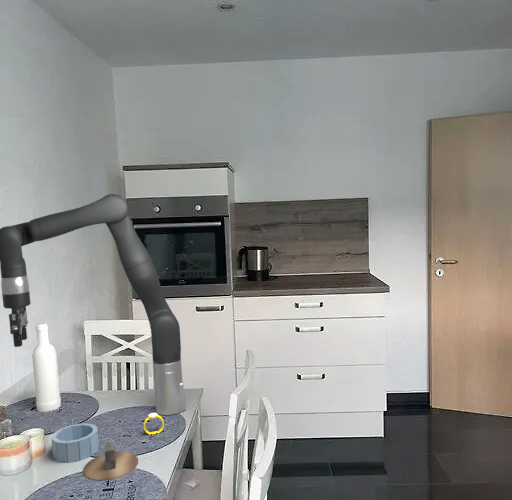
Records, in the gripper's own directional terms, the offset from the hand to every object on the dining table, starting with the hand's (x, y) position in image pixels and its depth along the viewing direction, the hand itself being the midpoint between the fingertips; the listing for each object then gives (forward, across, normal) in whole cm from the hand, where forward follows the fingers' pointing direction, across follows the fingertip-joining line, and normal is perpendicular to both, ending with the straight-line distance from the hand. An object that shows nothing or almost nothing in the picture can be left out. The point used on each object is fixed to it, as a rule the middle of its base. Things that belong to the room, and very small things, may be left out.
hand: (21, 342), depth 152 cm
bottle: (+29, +19, -3) cm, 35 cm away
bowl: (+29, -19, -15) cm, 38 cm away
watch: (+29, -16, -37) cm, 50 cm away
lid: (+29, -32, -25) cm, 50 cm away
